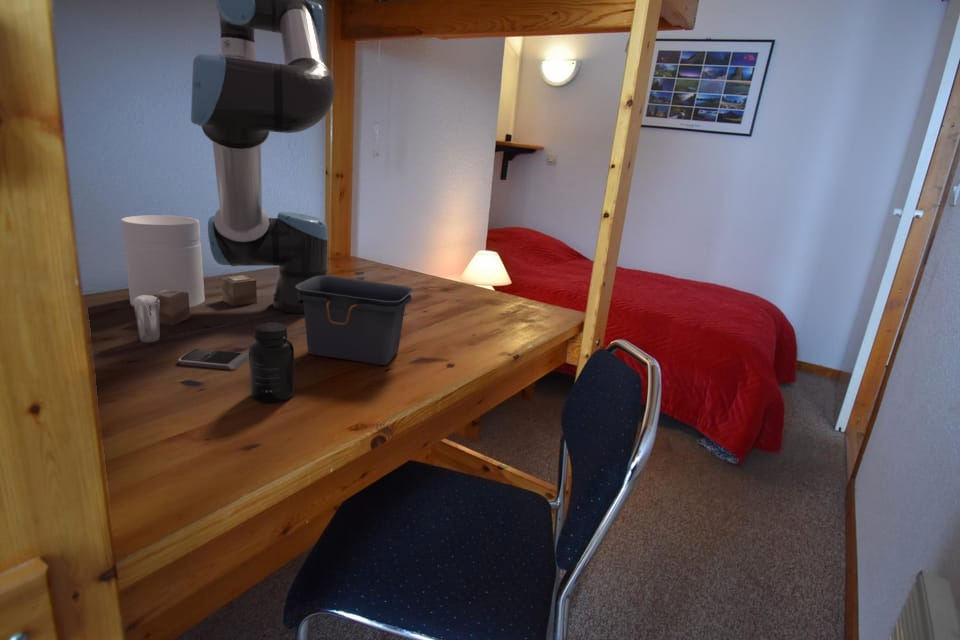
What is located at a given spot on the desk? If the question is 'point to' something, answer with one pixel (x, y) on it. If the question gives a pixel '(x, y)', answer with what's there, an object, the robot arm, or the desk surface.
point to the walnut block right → (239, 290)
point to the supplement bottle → (271, 364)
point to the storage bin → (353, 318)
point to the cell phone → (214, 359)
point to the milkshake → (147, 317)
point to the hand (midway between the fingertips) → (242, 161)
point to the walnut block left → (172, 306)
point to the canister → (163, 256)
